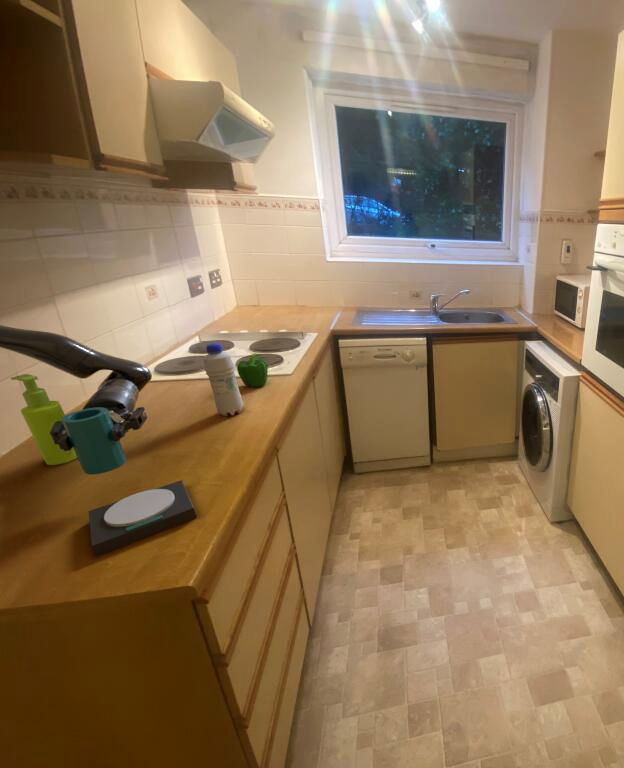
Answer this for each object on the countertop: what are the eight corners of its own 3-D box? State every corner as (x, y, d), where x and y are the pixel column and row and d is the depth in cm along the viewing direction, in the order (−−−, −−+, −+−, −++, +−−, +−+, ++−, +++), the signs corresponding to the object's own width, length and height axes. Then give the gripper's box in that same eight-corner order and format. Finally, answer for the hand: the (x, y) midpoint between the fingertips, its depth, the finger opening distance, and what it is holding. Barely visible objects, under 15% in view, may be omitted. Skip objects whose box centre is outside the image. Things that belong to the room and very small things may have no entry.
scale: (96, 556, 71) (90, 543, 70) (92, 520, 79) (87, 508, 78) (197, 517, 80) (192, 505, 79) (184, 488, 88) (180, 477, 87)
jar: (84, 478, 80) (61, 425, 76) (83, 464, 84) (61, 414, 80) (128, 465, 84) (108, 414, 80) (124, 453, 88) (106, 404, 84)
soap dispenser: (68, 448, 102) (32, 369, 95) (87, 453, 100) (53, 373, 93) (36, 461, 97) (-4, 379, 89) (56, 467, 95) (17, 383, 87)
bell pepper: (249, 392, 133) (241, 361, 130) (237, 385, 138) (229, 356, 134) (276, 383, 140) (270, 354, 136) (264, 378, 144) (257, 349, 140)
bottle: (211, 417, 118) (191, 347, 110) (229, 406, 124) (211, 339, 116) (234, 418, 117) (215, 348, 109) (251, 408, 123) (234, 340, 115)
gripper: (157, 415, 98) (146, 449, 84) (72, 430, 91) (44, 469, 77) (147, 384, 95) (133, 414, 81) (58, 398, 88) (27, 433, 75)
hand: (90, 441), depth 79 cm, fingers closed on jar, 6 cm apart
